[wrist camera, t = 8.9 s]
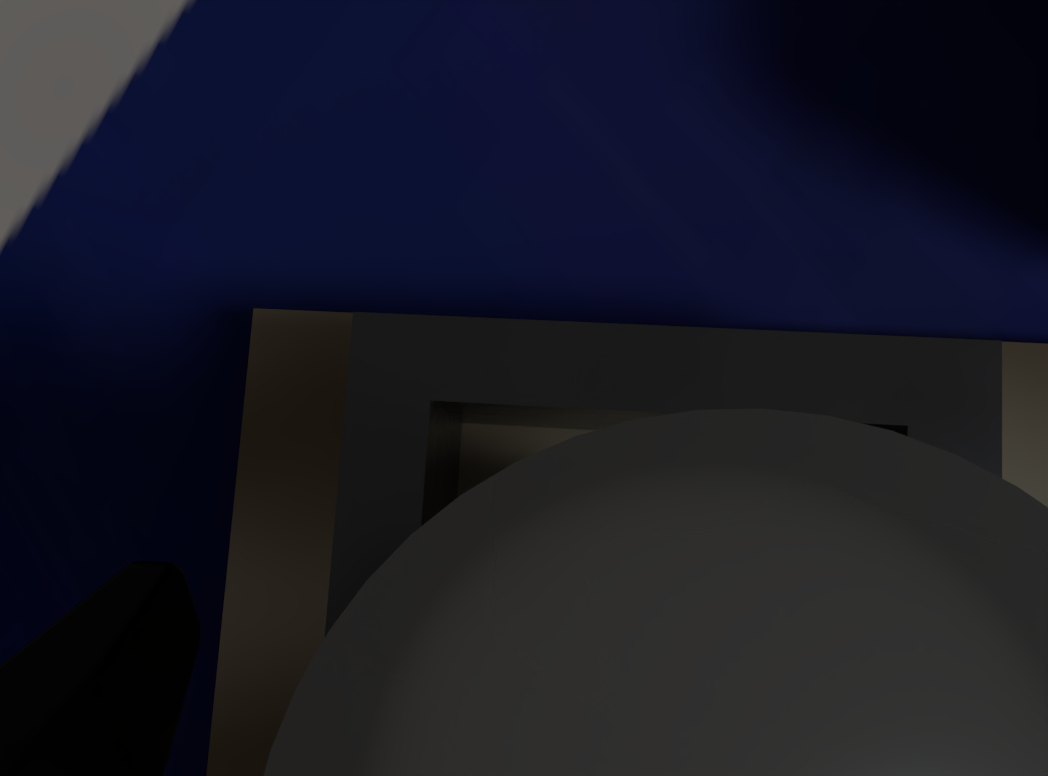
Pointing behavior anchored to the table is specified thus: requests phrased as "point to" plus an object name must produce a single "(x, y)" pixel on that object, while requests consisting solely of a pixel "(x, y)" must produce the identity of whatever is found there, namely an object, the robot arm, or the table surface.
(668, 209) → the table surface
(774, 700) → the pin
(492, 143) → the table surface
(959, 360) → the knuckle socket
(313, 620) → the board
